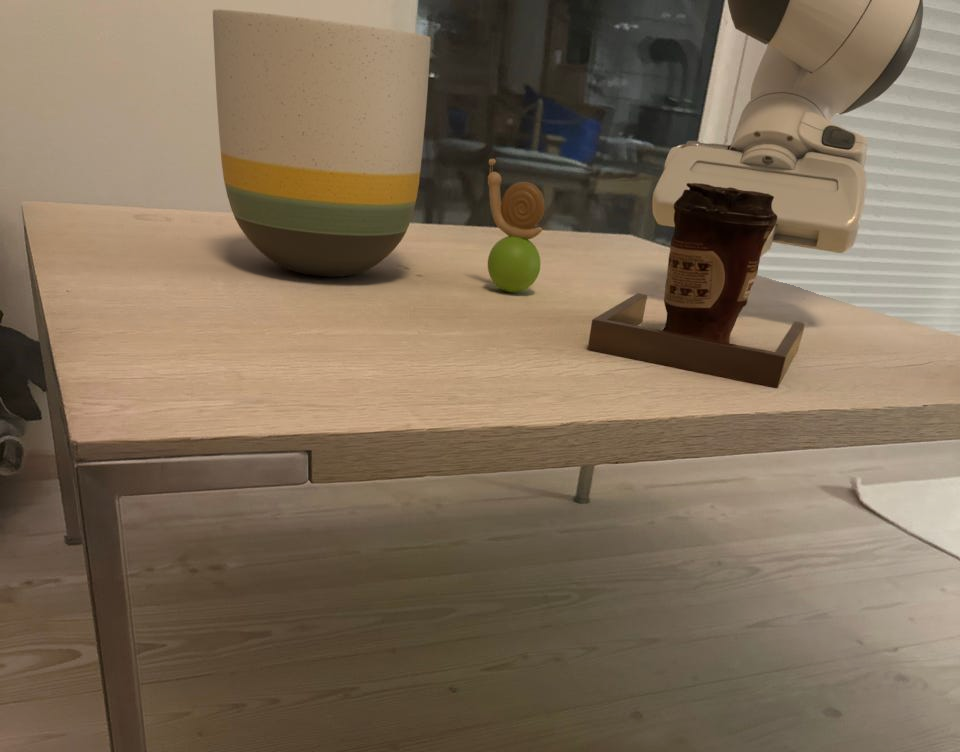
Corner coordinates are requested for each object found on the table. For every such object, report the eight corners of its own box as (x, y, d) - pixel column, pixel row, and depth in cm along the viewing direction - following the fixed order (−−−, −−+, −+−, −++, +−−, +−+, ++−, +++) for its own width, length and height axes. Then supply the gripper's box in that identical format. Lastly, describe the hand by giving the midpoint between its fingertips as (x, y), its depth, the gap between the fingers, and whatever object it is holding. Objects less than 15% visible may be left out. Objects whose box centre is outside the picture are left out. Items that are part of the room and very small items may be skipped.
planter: (298, 247, 106) (298, 24, 95) (448, 277, 99) (467, 42, 88) (180, 265, 90) (164, 2, 79) (349, 303, 84) (357, 22, 73)
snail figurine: (485, 282, 99) (498, 157, 93) (542, 292, 98) (559, 166, 91) (468, 289, 95) (480, 159, 88) (528, 300, 93) (544, 168, 87)
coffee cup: (696, 363, 78) (734, 194, 71) (627, 338, 83) (656, 178, 76) (760, 355, 83) (801, 196, 76) (691, 332, 88) (723, 182, 81)
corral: (632, 319, 91) (637, 292, 89) (797, 350, 86) (805, 323, 85) (587, 349, 78) (592, 319, 77) (777, 388, 74) (786, 356, 72)
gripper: (673, 114, 93) (631, 228, 90) (885, 140, 87) (847, 262, 84) (673, 163, 99) (634, 271, 96) (871, 190, 93) (835, 305, 90)
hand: (735, 267), depth 90 cm, fingers closed
